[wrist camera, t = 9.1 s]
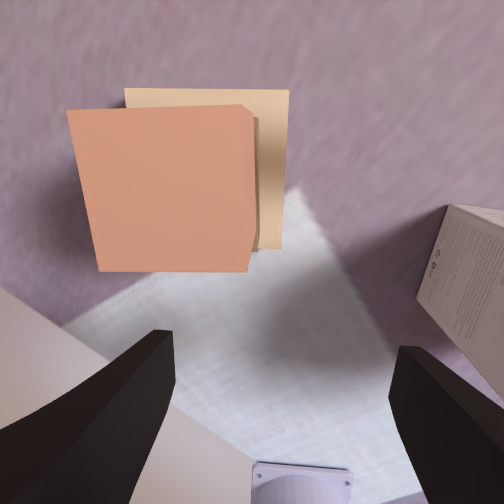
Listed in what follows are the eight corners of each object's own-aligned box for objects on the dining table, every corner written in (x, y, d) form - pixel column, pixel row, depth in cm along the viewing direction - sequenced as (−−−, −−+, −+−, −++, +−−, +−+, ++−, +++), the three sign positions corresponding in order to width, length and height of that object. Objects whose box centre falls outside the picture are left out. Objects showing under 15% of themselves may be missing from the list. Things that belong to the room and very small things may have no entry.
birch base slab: (280, 235, 21) (281, 249, 18) (155, 231, 21) (140, 243, 19) (287, 95, 18) (289, 90, 15) (143, 93, 18) (124, 87, 16)
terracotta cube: (256, 229, 15) (246, 272, 11) (152, 229, 16) (99, 271, 11) (253, 113, 14) (240, 104, 9) (136, 117, 14) (66, 110, 9)
